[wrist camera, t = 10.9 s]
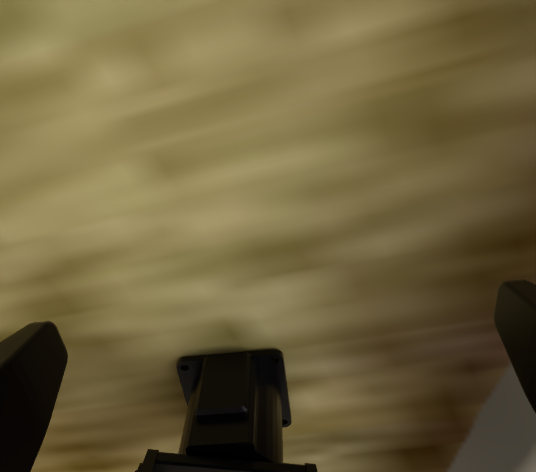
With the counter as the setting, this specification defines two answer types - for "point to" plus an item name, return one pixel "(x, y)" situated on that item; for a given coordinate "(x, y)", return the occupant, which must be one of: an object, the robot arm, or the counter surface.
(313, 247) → the counter surface
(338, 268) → the counter surface
